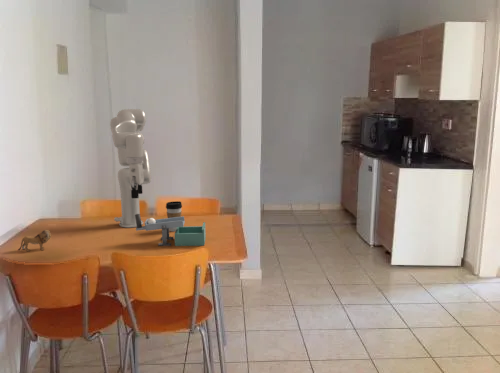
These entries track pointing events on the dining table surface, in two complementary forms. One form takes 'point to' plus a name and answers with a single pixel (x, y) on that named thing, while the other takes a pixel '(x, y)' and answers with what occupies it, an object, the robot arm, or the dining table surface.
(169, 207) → the coffee cup
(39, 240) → the lion figurine
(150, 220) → the ball
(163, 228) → the chute stand
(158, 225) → the chute
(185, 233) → the bin
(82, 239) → the dining table surface
